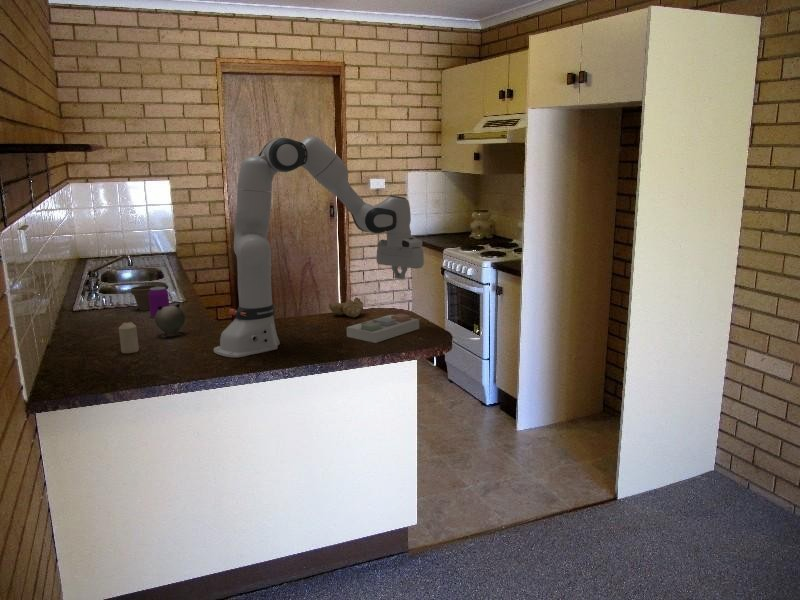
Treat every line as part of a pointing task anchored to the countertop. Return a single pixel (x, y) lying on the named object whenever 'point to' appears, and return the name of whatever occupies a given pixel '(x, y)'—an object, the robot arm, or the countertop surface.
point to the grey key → (386, 322)
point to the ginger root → (348, 307)
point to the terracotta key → (401, 317)
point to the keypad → (382, 330)
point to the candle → (128, 338)
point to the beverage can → (157, 299)
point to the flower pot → (142, 296)
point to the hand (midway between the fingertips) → (399, 278)
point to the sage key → (371, 326)
